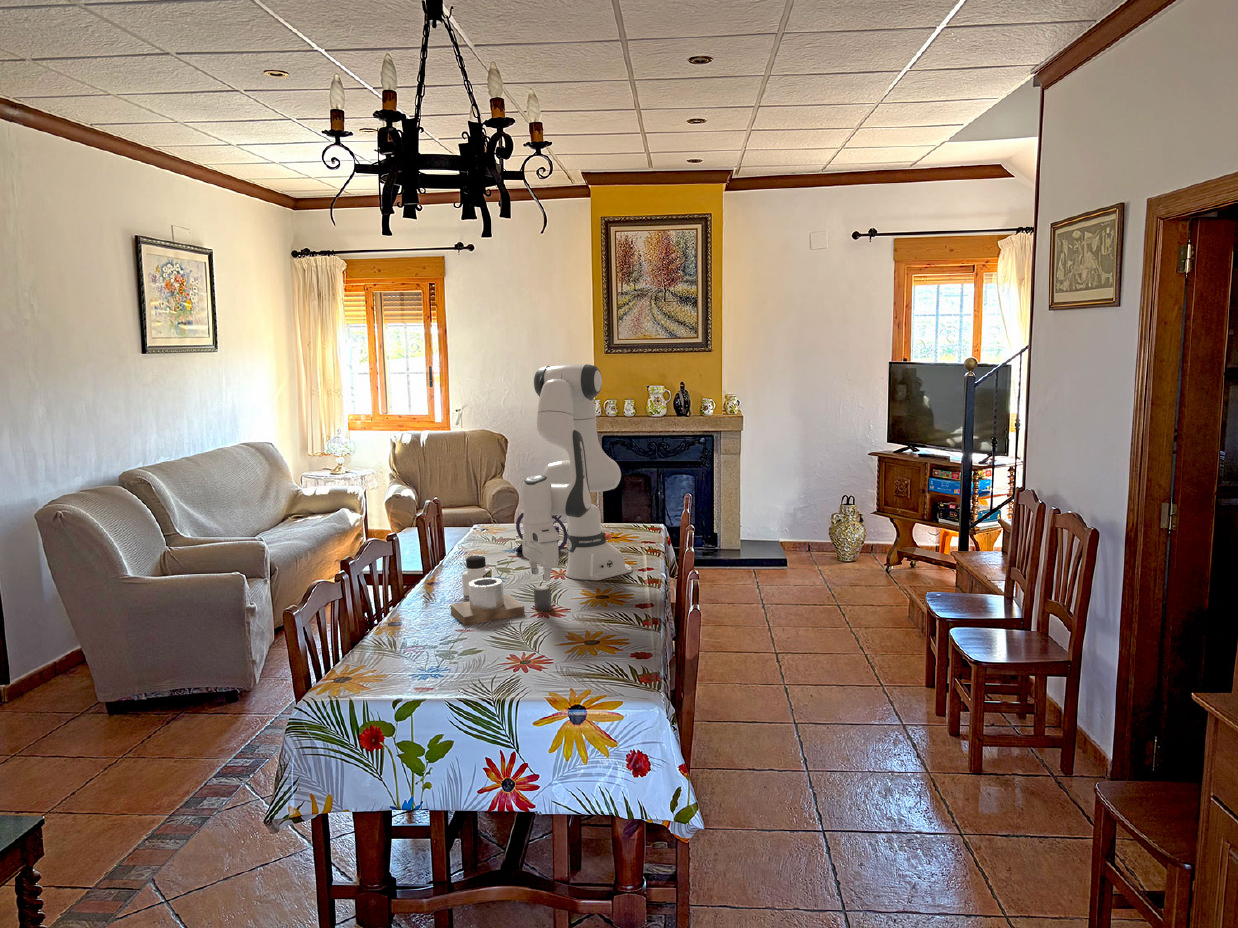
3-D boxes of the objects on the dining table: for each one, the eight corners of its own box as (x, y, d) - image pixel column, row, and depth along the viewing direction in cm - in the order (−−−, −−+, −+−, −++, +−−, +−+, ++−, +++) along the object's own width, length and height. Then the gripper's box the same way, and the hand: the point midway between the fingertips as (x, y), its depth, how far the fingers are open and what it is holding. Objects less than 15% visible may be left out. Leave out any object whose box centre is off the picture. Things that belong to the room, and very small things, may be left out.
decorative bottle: (527, 542, 346) (524, 479, 343) (578, 543, 341) (575, 480, 337) (505, 557, 325) (501, 490, 321) (559, 558, 319) (555, 490, 316)
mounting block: (508, 602, 270) (508, 594, 269) (524, 614, 257) (524, 606, 257) (451, 612, 262) (450, 604, 261) (464, 625, 249) (464, 617, 249)
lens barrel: (497, 598, 266) (495, 575, 264) (507, 606, 257) (506, 583, 256) (466, 603, 261) (464, 581, 260) (476, 612, 253) (474, 588, 252)
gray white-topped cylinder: (547, 604, 266) (546, 584, 265) (554, 608, 262) (553, 588, 261) (532, 606, 264) (531, 587, 263) (538, 611, 260) (537, 591, 259)
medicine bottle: (484, 596, 277) (482, 559, 275) (463, 596, 278) (460, 559, 276) (492, 589, 284) (490, 553, 282) (471, 589, 285) (468, 553, 283)
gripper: (516, 527, 267) (518, 571, 269) (540, 538, 249) (543, 586, 251) (535, 524, 270) (538, 568, 272) (561, 535, 252) (563, 582, 253)
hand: (540, 577), depth 261 cm, fingers open, 8 cm apart
